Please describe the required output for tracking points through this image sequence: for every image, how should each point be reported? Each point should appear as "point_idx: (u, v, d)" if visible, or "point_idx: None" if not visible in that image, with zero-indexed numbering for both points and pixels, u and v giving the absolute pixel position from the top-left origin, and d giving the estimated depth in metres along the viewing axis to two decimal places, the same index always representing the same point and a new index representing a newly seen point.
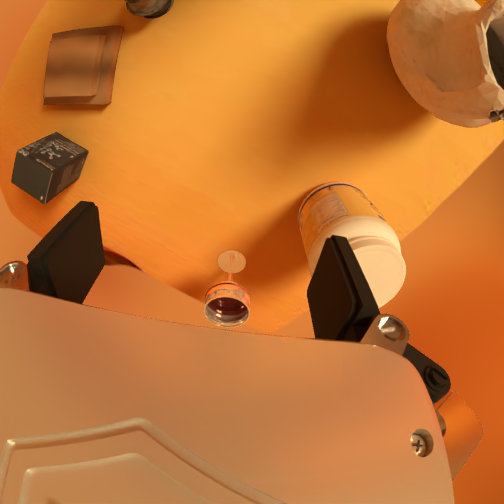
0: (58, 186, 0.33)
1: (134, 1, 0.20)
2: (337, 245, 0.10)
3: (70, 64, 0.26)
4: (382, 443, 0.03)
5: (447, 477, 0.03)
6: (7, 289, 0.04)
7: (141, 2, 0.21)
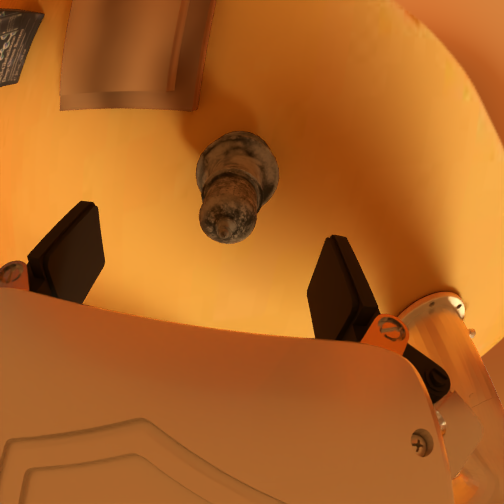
0: None
1: (203, 197, 0.16)
2: (337, 245, 0.10)
3: (117, 36, 0.13)
4: (383, 442, 0.03)
5: (447, 477, 0.03)
6: (7, 289, 0.04)
7: None
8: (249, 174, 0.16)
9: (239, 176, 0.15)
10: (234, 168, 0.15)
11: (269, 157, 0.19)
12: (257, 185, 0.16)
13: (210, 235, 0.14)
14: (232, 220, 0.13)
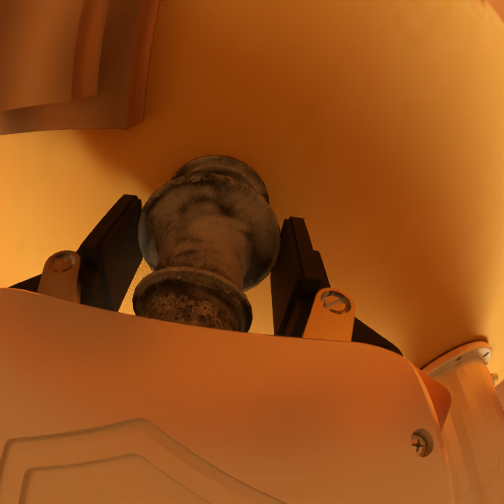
0: None
1: (138, 315, 0.08)
2: (292, 225, 0.11)
3: (8, 21, 0.05)
4: (382, 442, 0.03)
5: (447, 477, 0.03)
6: (7, 289, 0.04)
7: None
8: (220, 282, 0.07)
9: (199, 287, 0.07)
10: (187, 270, 0.07)
11: (264, 214, 0.10)
12: (238, 302, 0.08)
13: None
14: None
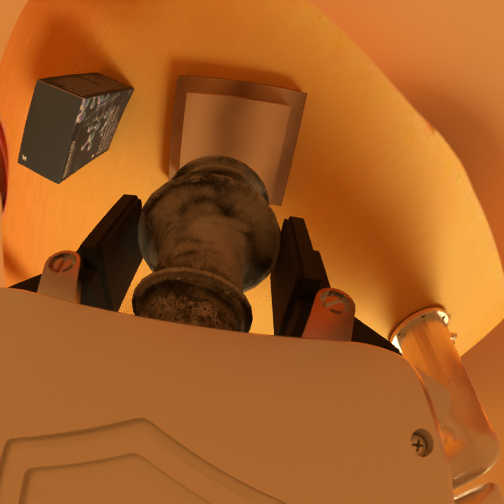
0: None
1: None
2: (292, 225, 0.11)
3: (233, 149, 0.24)
4: (382, 442, 0.03)
5: (447, 477, 0.03)
6: (7, 289, 0.04)
7: None
8: (220, 283, 0.07)
9: (199, 288, 0.07)
10: (187, 271, 0.07)
11: (264, 214, 0.10)
12: (238, 303, 0.08)
13: None
14: None
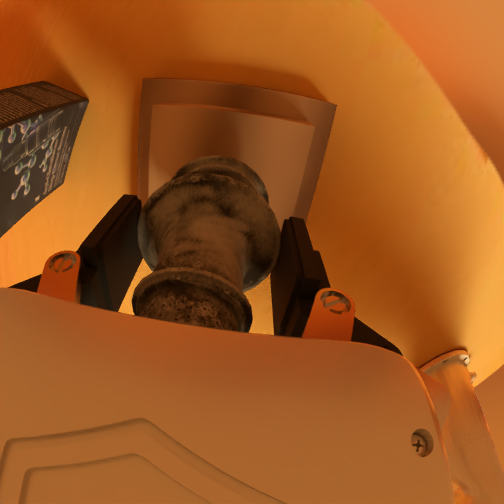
0: None
1: (137, 315, 0.08)
2: (292, 225, 0.11)
3: None
4: (382, 442, 0.03)
5: (447, 477, 0.03)
6: (7, 289, 0.04)
7: None
8: (220, 282, 0.07)
9: (199, 288, 0.07)
10: (187, 271, 0.07)
11: (264, 214, 0.10)
12: (238, 303, 0.08)
13: None
14: None
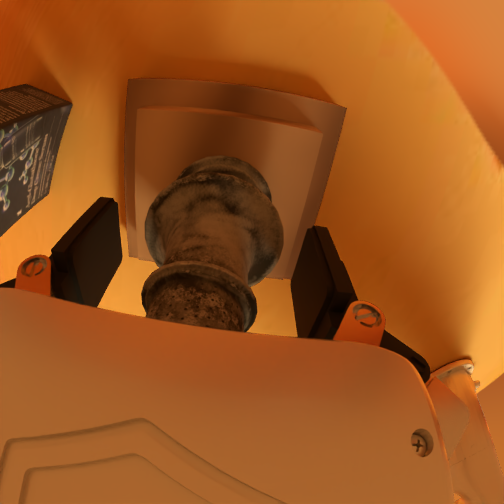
0: None
1: (146, 308, 0.09)
2: (317, 235, 0.10)
3: None
4: (383, 442, 0.03)
5: (447, 477, 0.03)
6: (7, 289, 0.04)
7: None
8: (227, 275, 0.08)
9: (207, 280, 0.08)
10: (196, 264, 0.08)
11: (267, 212, 0.11)
12: (244, 295, 0.08)
13: None
14: None
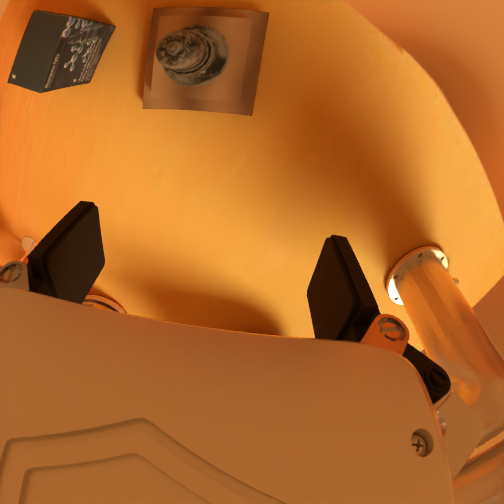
0: None
1: None
2: (337, 245, 0.10)
3: None
4: (382, 442, 0.03)
5: (447, 477, 0.03)
6: (7, 289, 0.04)
7: None
8: (199, 33, 0.15)
9: None
10: None
11: (220, 37, 0.18)
12: (205, 40, 0.16)
13: (163, 59, 0.14)
14: (179, 42, 0.13)
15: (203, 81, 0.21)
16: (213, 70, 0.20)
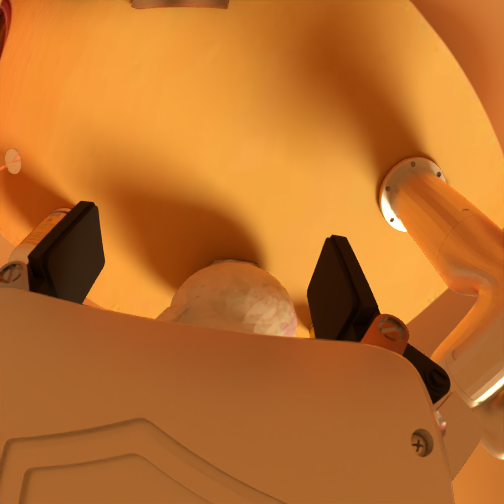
0: None
1: None
2: (337, 245, 0.10)
3: None
4: (382, 442, 0.03)
5: (447, 477, 0.03)
6: (7, 289, 0.04)
7: None
8: None
9: None
10: None
11: None
12: None
13: None
14: None
15: None
16: None
